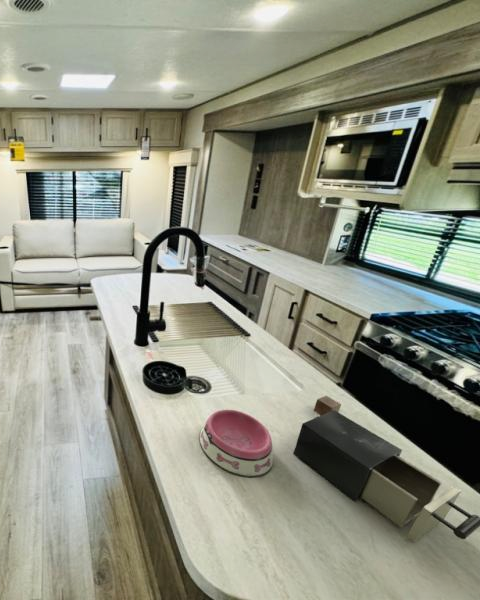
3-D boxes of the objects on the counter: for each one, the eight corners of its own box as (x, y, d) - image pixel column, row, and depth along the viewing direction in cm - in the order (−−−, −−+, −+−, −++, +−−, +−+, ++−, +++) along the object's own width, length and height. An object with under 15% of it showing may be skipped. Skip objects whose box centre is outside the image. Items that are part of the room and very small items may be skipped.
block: (337, 415, 97) (341, 404, 95) (328, 419, 95) (332, 407, 94) (322, 406, 101) (326, 395, 99) (313, 410, 99) (317, 399, 98)
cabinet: (386, 482, 76) (402, 449, 72) (354, 502, 71) (369, 468, 67) (323, 439, 88) (333, 409, 84) (293, 454, 84) (302, 423, 80)
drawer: (474, 540, 63) (494, 510, 59) (444, 565, 59) (464, 535, 55) (369, 469, 78) (380, 442, 75) (340, 485, 74) (351, 458, 71)
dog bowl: (287, 480, 77) (293, 459, 74) (209, 474, 78) (213, 454, 76) (255, 425, 94) (259, 406, 91) (192, 421, 96) (194, 403, 93)
